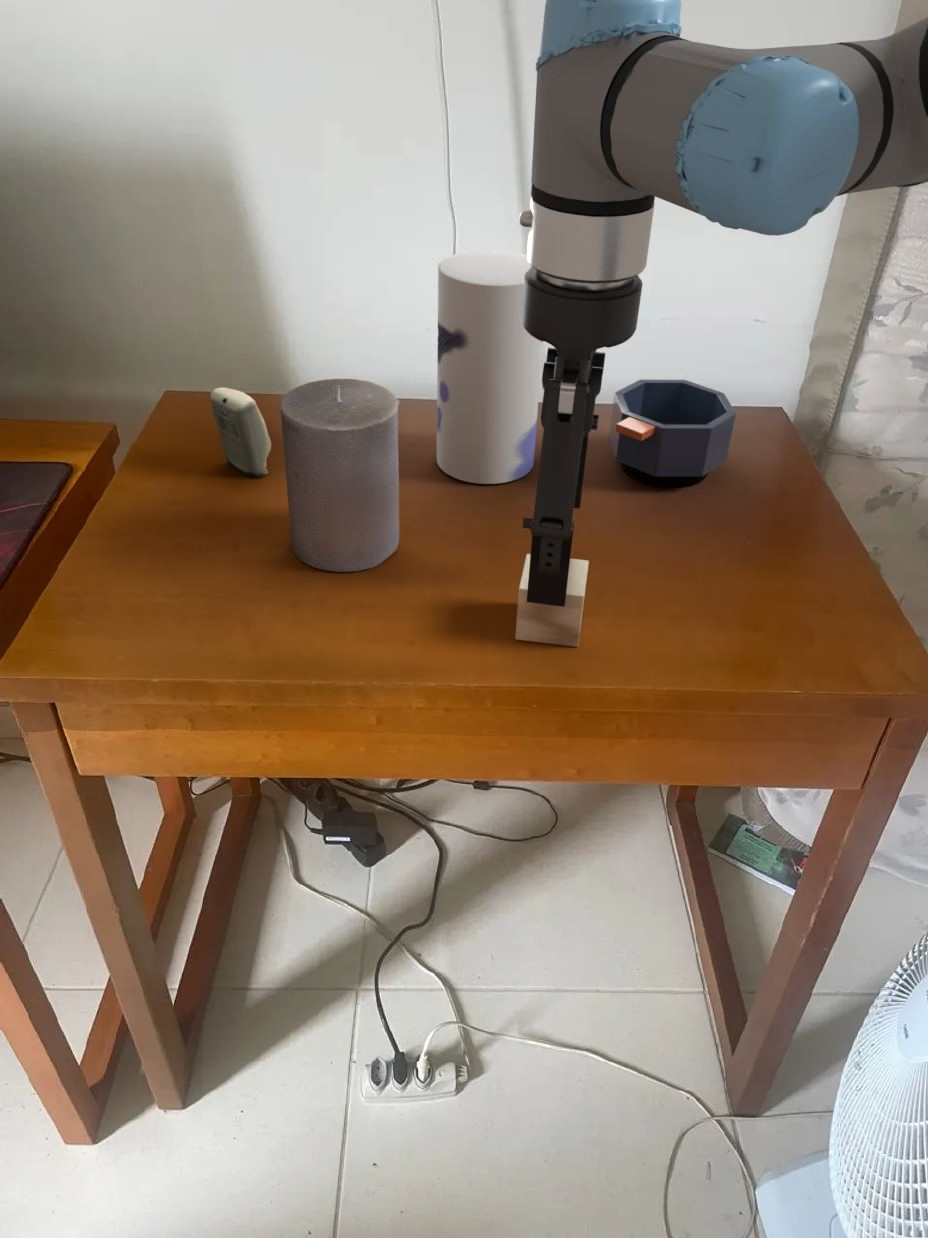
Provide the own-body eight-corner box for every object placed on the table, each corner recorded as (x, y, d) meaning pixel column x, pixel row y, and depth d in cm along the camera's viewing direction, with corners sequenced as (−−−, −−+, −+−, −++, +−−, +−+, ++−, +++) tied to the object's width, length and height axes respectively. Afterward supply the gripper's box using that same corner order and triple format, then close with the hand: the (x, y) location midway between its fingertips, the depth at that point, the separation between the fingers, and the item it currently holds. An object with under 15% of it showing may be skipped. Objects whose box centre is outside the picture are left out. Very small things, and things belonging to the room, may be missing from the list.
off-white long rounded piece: (207, 475, 97) (196, 400, 93) (228, 451, 102) (218, 378, 97) (262, 482, 97) (253, 407, 92) (280, 458, 101) (273, 384, 96)
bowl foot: (725, 470, 101) (728, 457, 100) (668, 497, 96) (670, 484, 95) (659, 438, 106) (661, 425, 105) (601, 462, 102) (603, 449, 101)
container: (421, 449, 103) (421, 254, 91) (506, 433, 106) (516, 243, 94) (461, 493, 96) (466, 288, 84) (551, 474, 99) (568, 275, 87)
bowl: (650, 415, 106) (657, 370, 103) (742, 449, 101) (753, 402, 97) (576, 457, 98) (581, 409, 95) (671, 497, 93) (680, 447, 89)
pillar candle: (286, 521, 91) (271, 367, 82) (390, 510, 93) (386, 358, 84) (298, 580, 83) (283, 418, 74) (411, 566, 86) (409, 407, 76)
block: (582, 610, 81) (589, 560, 78) (578, 647, 77) (584, 596, 74) (522, 603, 82) (526, 552, 79) (515, 639, 78) (518, 588, 75)
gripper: (546, 211, 72) (526, 466, 85) (497, 338, 53) (481, 643, 66) (648, 219, 72) (613, 476, 85) (636, 351, 52) (593, 658, 65)
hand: (555, 550), depth 75 cm, fingers open, 13 cm apart
